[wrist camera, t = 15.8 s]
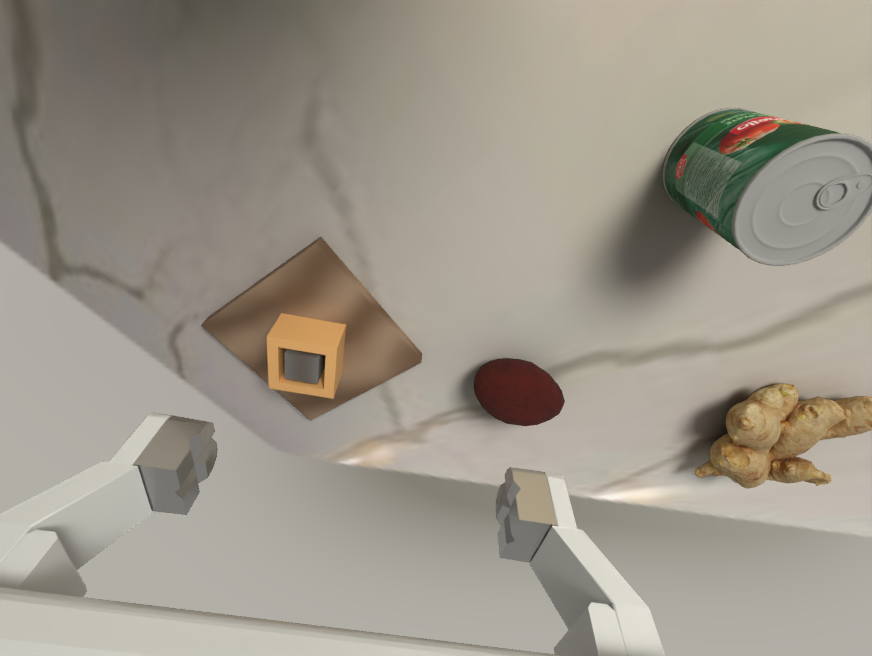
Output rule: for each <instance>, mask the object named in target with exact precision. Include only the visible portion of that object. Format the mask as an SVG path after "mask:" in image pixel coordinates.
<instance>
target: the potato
mask: <svg viewBox="0 0 872 656" xmlns="http://www.w3.org/2000/svg"><path fill="white" fill-rule="evenodd" d="M474 391H475V395H476V397H477V399H478V400H479V402H480V404H481V406H482V407H483V408H484V409H485V410H486V411H487V412H488V413H489V414H491V415H492V416H493V417H495V418H496V419H498V420H500V421H502V422H505V423H507V424H514V425H521V426H530V425H538V424H540V423H543V422H546V421H548V420H550V419H552V418H554V417H555V416H557V415H558V414H559V413H560V411H561V409H562V407H563V405H564V402H565V401H564V397H563V394H562V391H561V389H560V387H559V386H558V384H557V383H556V382H555V381H554V380H553V378H552V377H551V376H550V375H549V374H548V373H547V372H545V371H544V370H542V369H541V368H539V367H538V366H536V365H535V364H533V363H532V362H528V361H524V360H520V359H509V358H505V359H497V360H493V361H490V362H488V363H486V364H484V365H483V366H482V367H481V368H480V369H479V370H478V371H477V373H476V376H475V380H474Z"/></svg>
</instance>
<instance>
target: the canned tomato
mask: <svg viewBox="0 0 872 656" xmlns="http://www.w3.org/2000/svg"><path fill="white" fill-rule="evenodd" d="M662 177H663V185H664V188H665V191H666V193H667V195H668V196H669V197H670V199H671V200H672V201H673V202H674V203H675V204H677V205H678V206H680V207H682V208H683V209H684V210H686V211H687V212H689V213H690V214H691V215H692V216H694V217H695V218H696V219H698V220H699V221H700V222H702V223H703V224H705V225H706V226H708V227H709V228H710V229H711V230H713V231H714V232H715V233H717V234H718V235H720V236H721V237H722V238H724V239H725V240H726V241H728V242H729V243H731V244H732V245H733V246H734V247H736V248H737V249H739V250H740V251H741V252H742V253H744V254H745V255H746V256H747V257H748V258H750V259H752V260H754V261H756V262H758V263H762V264H766V265H772V266H784V265H791V264H797V263H801V262H804V261H807V260H811V259H813V258H815V257H817V256H820V255H822V254H824V253H826V252H828V251H829V250H831V249H833V248H834V247H836V246H838V245H839V244H840V243H842V242H843V241H844V240H845V239H847V238H848V237H849V236H851V235H852V234H853V233H854V232H855V231H856V230H857V229H858V228H859V227H860V226H861V225H862V223H863V222H864V221H865V220H866V218H867V217H868V216H869V215H870V213H871V212H872V143H870V142H868V141H866V140H865V139H863V138H861V137H858V136H854V135H850V134H841V133H838V132H834V131H830V130H826V129H822V128H818V127H814V126H810V125H806V124H801V123H797V122H793V121H789V120H785V119H781V118H777V117H772V116H768V115H764V114H760V113H756V112H751V111H749V110H746V109H741V108H725V109H720V110H716V111H713V112H711V113H708V114H706V115H704V116H702V117H701V118H699V119H697V120H695V121H694V122H693V123H692V124H690V125H689V126H688V127H687V128H686V129H685V130H684V131H683V132H682V133H681V134H680V135H679V136H678V137H677V139H676V140H675V141H674V143H673V144H672V146H671V148H670V150H669V152H668V154H667V156H666V159H665V162H664V166H663V175H662Z"/></svg>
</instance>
